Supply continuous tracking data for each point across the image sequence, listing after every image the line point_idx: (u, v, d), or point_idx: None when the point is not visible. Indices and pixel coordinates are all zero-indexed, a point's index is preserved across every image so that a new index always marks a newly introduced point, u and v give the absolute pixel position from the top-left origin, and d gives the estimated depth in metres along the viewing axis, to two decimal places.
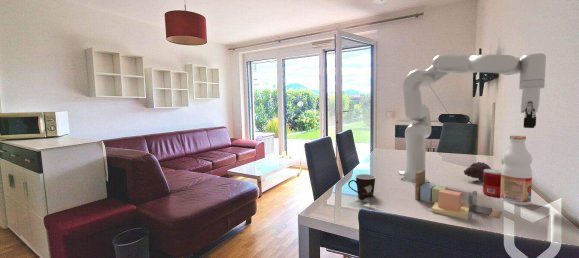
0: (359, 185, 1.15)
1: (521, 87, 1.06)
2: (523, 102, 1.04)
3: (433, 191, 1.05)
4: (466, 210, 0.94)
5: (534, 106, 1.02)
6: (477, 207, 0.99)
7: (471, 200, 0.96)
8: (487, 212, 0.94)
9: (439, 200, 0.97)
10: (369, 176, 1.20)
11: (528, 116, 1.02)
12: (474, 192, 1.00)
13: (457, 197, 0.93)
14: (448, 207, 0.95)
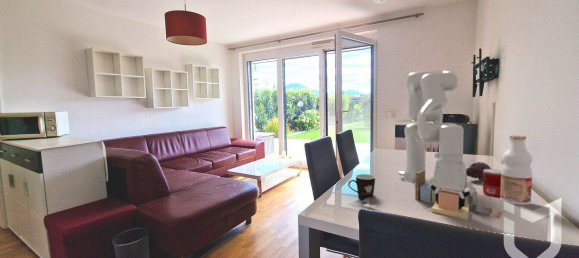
0: (359, 185, 1.15)
1: (455, 162, 0.92)
2: (464, 180, 0.91)
3: (433, 191, 1.05)
4: (466, 210, 0.94)
5: None
6: (477, 207, 0.99)
7: (471, 200, 0.96)
8: (487, 212, 0.94)
9: (439, 200, 0.97)
10: (369, 176, 1.20)
11: (466, 196, 0.92)
12: (474, 192, 1.00)
13: (457, 197, 0.93)
14: (448, 207, 0.95)
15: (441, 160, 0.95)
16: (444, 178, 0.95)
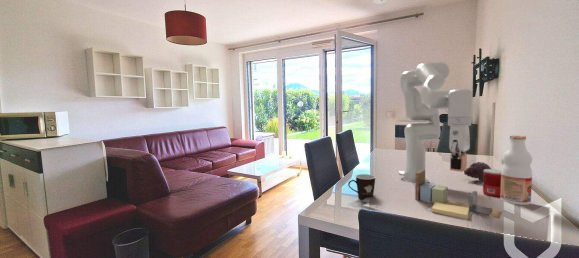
0: (359, 185, 1.15)
1: None
2: None
3: (433, 191, 1.05)
4: (466, 210, 0.94)
5: None
6: (477, 207, 0.99)
7: (471, 200, 0.96)
8: (487, 212, 0.94)
9: (462, 164, 0.97)
10: (369, 176, 1.20)
11: None
12: (474, 192, 1.00)
13: (466, 155, 1.01)
14: (464, 168, 1.00)
15: (467, 123, 0.96)
16: (466, 140, 0.97)
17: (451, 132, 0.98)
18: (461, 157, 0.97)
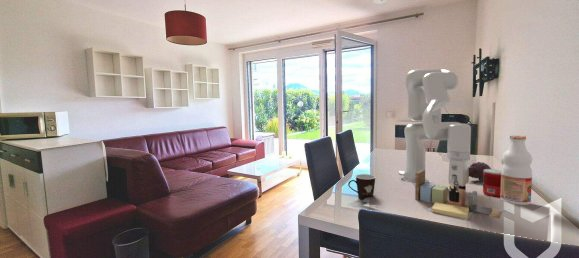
0: (359, 185, 1.15)
1: None
2: None
3: (433, 191, 1.05)
4: (466, 210, 0.94)
5: None
6: (477, 207, 0.99)
7: (471, 200, 0.96)
8: (487, 212, 0.94)
9: (461, 202, 0.99)
10: (369, 176, 1.20)
11: None
12: (474, 192, 1.00)
13: (465, 191, 1.03)
14: (463, 205, 1.01)
15: (466, 158, 0.97)
16: (465, 175, 0.99)
17: (450, 166, 0.99)
18: (460, 195, 0.99)
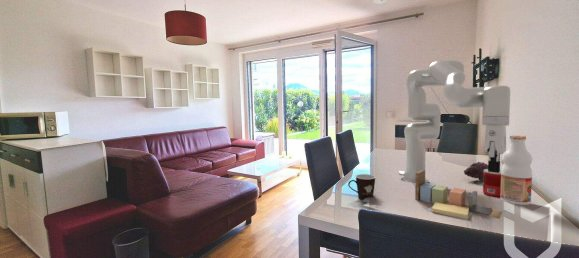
0: (359, 185, 1.15)
1: None
2: None
3: (433, 191, 1.05)
4: (466, 210, 0.94)
5: None
6: (477, 207, 0.99)
7: (471, 200, 0.96)
8: (487, 212, 0.94)
9: (461, 202, 0.99)
10: (369, 176, 1.20)
11: None
12: (474, 192, 1.00)
13: (465, 191, 1.03)
14: (463, 205, 1.01)
15: (505, 123, 0.88)
16: (504, 142, 0.90)
17: (487, 132, 0.90)
18: (460, 195, 0.99)
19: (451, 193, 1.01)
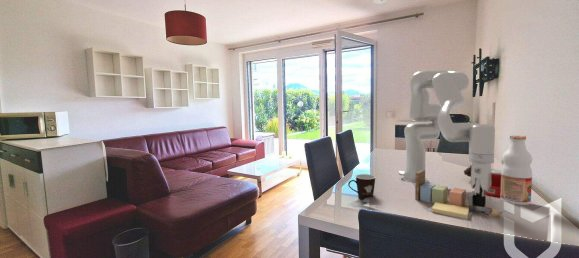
0: (359, 185, 1.15)
1: None
2: None
3: (433, 191, 1.05)
4: (466, 210, 0.94)
5: None
6: (477, 207, 0.99)
7: (471, 200, 0.96)
8: (487, 212, 0.94)
9: (461, 202, 0.99)
10: (369, 176, 1.20)
11: None
12: (473, 192, 1.00)
13: (465, 191, 1.03)
14: (463, 205, 1.01)
15: (490, 161, 0.92)
16: (489, 178, 0.93)
17: (473, 169, 0.94)
18: (460, 195, 0.99)
19: (451, 193, 1.01)
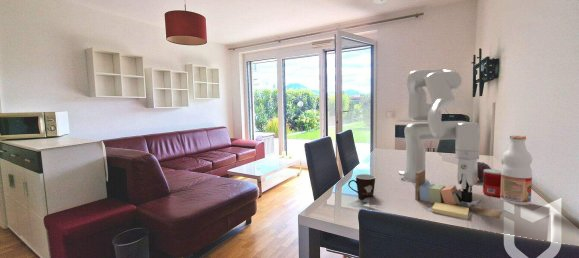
0: (359, 185, 1.15)
1: None
2: None
3: (430, 190, 1.06)
4: (466, 210, 0.94)
5: None
6: (467, 203, 1.01)
7: (456, 197, 0.99)
8: (475, 204, 0.96)
9: None
10: (369, 176, 1.20)
11: None
12: (457, 190, 1.03)
13: (455, 187, 1.05)
14: None
15: (475, 157, 0.95)
16: (475, 174, 0.96)
17: (459, 165, 0.97)
18: (450, 190, 1.01)
19: (442, 191, 1.03)
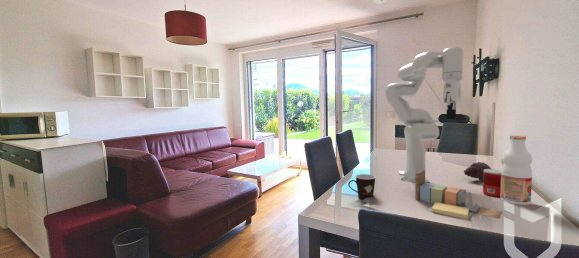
0: (359, 185, 1.15)
1: None
2: None
3: (432, 191, 1.06)
4: (466, 210, 0.94)
5: None
6: (465, 205, 1.01)
7: (459, 198, 0.98)
8: (475, 210, 0.96)
9: (456, 201, 1.00)
10: (369, 176, 1.20)
11: None
12: (463, 190, 1.02)
13: None
14: None
15: (458, 77, 1.10)
16: (458, 93, 1.11)
17: (445, 85, 1.11)
18: (455, 194, 1.00)
19: (446, 192, 1.02)
